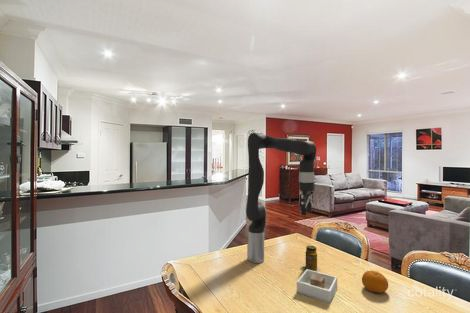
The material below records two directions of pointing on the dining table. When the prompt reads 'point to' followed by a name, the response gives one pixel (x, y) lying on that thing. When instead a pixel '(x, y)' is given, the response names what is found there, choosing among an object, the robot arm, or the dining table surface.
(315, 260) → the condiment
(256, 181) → the robot arm
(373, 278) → the fruit
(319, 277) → the walnut cube
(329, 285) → the tub
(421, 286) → the dining table surface
